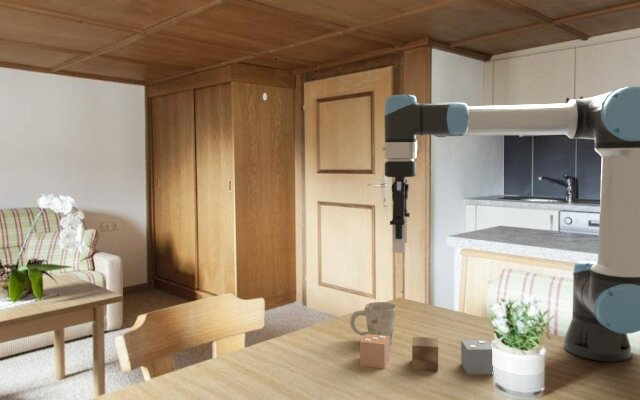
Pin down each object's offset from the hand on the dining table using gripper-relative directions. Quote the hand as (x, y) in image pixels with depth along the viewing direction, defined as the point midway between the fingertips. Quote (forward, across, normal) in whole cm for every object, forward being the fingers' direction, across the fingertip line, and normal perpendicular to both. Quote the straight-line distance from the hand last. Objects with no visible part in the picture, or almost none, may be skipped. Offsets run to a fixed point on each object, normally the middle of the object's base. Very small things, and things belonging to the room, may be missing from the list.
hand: (400, 247), depth 130 cm
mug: (+28, -10, -8) cm, 31 cm away
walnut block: (+28, +4, +6) cm, 29 cm away
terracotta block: (+28, +4, -6) cm, 29 cm away
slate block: (+28, +4, +18) cm, 34 cm away
